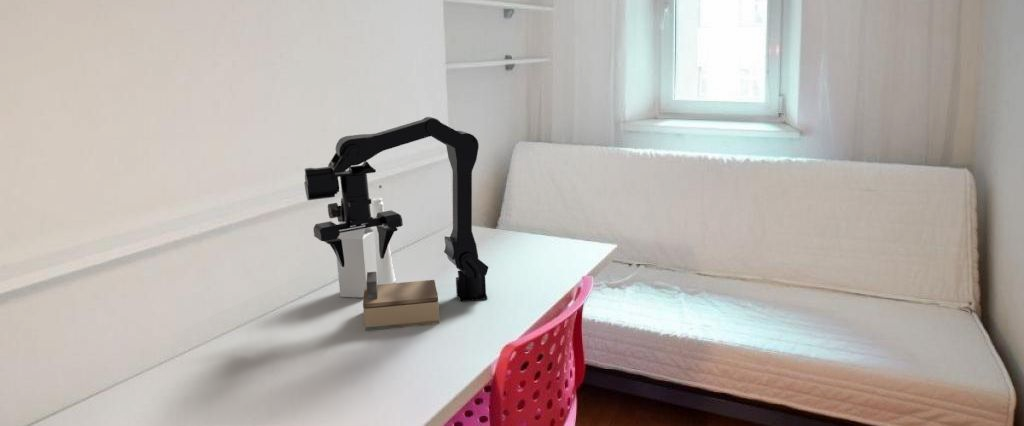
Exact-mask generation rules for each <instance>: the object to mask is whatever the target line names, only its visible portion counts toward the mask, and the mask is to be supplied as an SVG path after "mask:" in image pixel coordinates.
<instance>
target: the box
mask: <svg viewBox="0 0 1024 426" xmlns="http://www.w3.org/2000/svg"><path fill="white" fill-rule="evenodd" d="M439 306H440V305H439V300H438V301H430V302H419V303H408V304H398V305H387V306H376V307H366V308H363V310H362V311H363V319H364V321H363V322H364V329H365V330H364V331H365V332H367V331H368V332H369V331H375V330H377V331H378V330H386V329H397V328H398V329H399V328H407V327H417V326H428V325H437V324H441V322H440V309H439V308H440V307H439Z"/></svg>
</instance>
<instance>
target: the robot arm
mask: <svg viewBox="0 0 1024 426" xmlns="http://www.w3.org/2000/svg"><path fill="white" fill-rule="evenodd" d="M429 137H432V138H433V139H435V140H436V141H439V142H440V143H442V144H444V145H445V146H446V152H447V158H448V161H449V163H450V167H451V170H452V231H451V233H450V236H444V244H445V248H444V250H443V252H444V254H446V256H447V259H448V260H449V261H450V262H451V263H452V264H453V265H454V266H455V268H456V269H457V277H455V288H456V289H455V291H456V296H457V297H458V298H459V301H460V302H472V301H479V300H487V299H488V295H487V284H486V275H487V273H488V270H489V266H488V265H486V264H485V263H484V262H483V261H481V259H479V253H478V247H477V243H476V239H475V237H474V234H473V230H472V229H473V226H472V225H473V222H472V221H473V213H472V212H473V207H472V206H473V203H472V202H473V187H472V186H473V170H474V167H475V165H476V163H477V159H478V155H479V153H478V152H479V149H480V148H479V146H480V144H479V141H478V139H477V138H476V137H475V136H474V134H471V133H469V132H467V131H462V130H455V129H454V128H452V127H450V126H448V125H446V124H445V123H442V122H441V121H440V120H439V119H438V118H435V117H431V116H425V117H424V118H422V119H420V120H419V119H418V120H416V121H413V122H410V123H406V124H404V125H398V126H396V127H393V128H390V129H386V130H383V131H379V132H375V133H366V134H364V133H363V134H362V133H361V134H354V135H353V134H352V135H346V136H342V137H341V138H339V139H338V140H337V143H336V144H335V153H334V154H333V157H332V158H331V160H330V162H329V163H328V165H327V166H324V167H323V166H322V167H306V168H304V189H305V195H306V200H307V201H314V200H321V199H330V198H335V196H336V195H337V194H338V193H339V192H340V188H341V197H342V198H340V205H339V204H338V202H334V203H329V204H327V213H328V217H329V219H334V218H335V219H336V218H337V222H338V224H336V223H335V222H333V221H331V220H330V221H325V222H320V223H316V224H315V225H314V226H313V236H314V238H316V239H318V240H319V241H321V242H325V243H326V244H327V245H329V246H330V247H331V248H332V250H333V252H334V254H335V257H336V260H337V259H338V261H339V263H340V265H341V266H342V267H344V254H343V247H342V240H341V239H340V238H338V236H339V235H340V233H342V232H348V231H353V230H358V229H363V228H369V227H371V228H372V227H374V226H376V227H377V230H378V234H379V253H380V258H382V259H383V258H384V255H385V253H386V250H387V247H388V244H390V241H391V239H392V237H393V235H394V233H395V232H398V231H399V228H401V227H403V225H404V224H403V223H404V222H403V217H402V215H401V214H400V213H398V212H396V211H394V210H392V209H391V210H387V211H385V210H384V212H379V213H377V217H376V218H373V216H372V211H371V204H372V199H371V198H370V194H369V184H368V174H373V173H374V174H375V173H376V172H377V169H375V168H374V167H373V166H372V165H370V164H369V162H368V161H369V160H370V159H372V158H374V157H375V156H377V155H378V154H380V153H381V152H384V151H387V150H390V149H393V148H396V147H401V146H403V145H407V144H410V143H412V142H416V141H420V140H423V139H426V138H429ZM360 164H361V165H360ZM339 178H340V182H339ZM341 221H342V222H345V223H344V224H339V223H340V222H341ZM366 223H367V224H366ZM361 224H363V225H361ZM354 225H356V226H354ZM350 226H353V227H350Z"/></svg>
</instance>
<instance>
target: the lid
mask: <svg viewBox="0 0 1024 426" xmlns="http://www.w3.org/2000/svg"><path fill="white" fill-rule="evenodd" d="M366 283H367V286H364V298H363V301H362V307H363V308H366V307H376V306H387V305H398V304H408V303H419V302H430V301H438V302H439V295H438V291H437V286H436V285H437V284H436V281H435V279H426V280H415V281H405V282H394V283H392V284H381V285H377V275H376V272H367V282H366Z"/></svg>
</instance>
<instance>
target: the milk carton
mask: <svg viewBox="0 0 1024 426" xmlns="http://www.w3.org/2000/svg"><path fill="white" fill-rule="evenodd" d="M344 223H345V222H342V221H341V222H338V224H344ZM366 224H367V223H366ZM361 225H363V224H361ZM354 226H356V225H354ZM350 227H353V226H350ZM338 238H340V239H341V240H342V247H343V254H344V267H342V266H341V265H340V263H339V261H338V259H337V258H336V264H337V274H338V284H339V293H340V294H339V295H340V297H341V298H359V299H360V298H361V299H362V298H364V286H367V283H366V282H367V272H376V275H377V266H376V255H375V243H374V232H373V230H372V227H369V228H363V229H358V230H353V231H348V232H342V233H340V235H339V236H338ZM377 285H378V278H377Z"/></svg>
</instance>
